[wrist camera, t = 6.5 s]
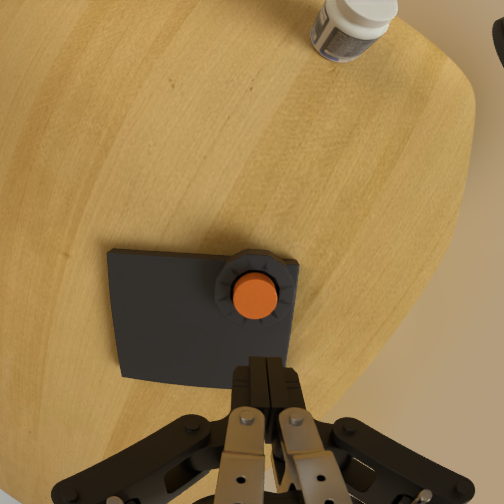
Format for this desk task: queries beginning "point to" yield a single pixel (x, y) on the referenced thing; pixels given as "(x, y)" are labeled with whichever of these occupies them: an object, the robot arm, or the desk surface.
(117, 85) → the desk surface
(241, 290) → the button
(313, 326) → the desk surface
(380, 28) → the pill bottle
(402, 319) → the desk surface
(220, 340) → the black flat block
